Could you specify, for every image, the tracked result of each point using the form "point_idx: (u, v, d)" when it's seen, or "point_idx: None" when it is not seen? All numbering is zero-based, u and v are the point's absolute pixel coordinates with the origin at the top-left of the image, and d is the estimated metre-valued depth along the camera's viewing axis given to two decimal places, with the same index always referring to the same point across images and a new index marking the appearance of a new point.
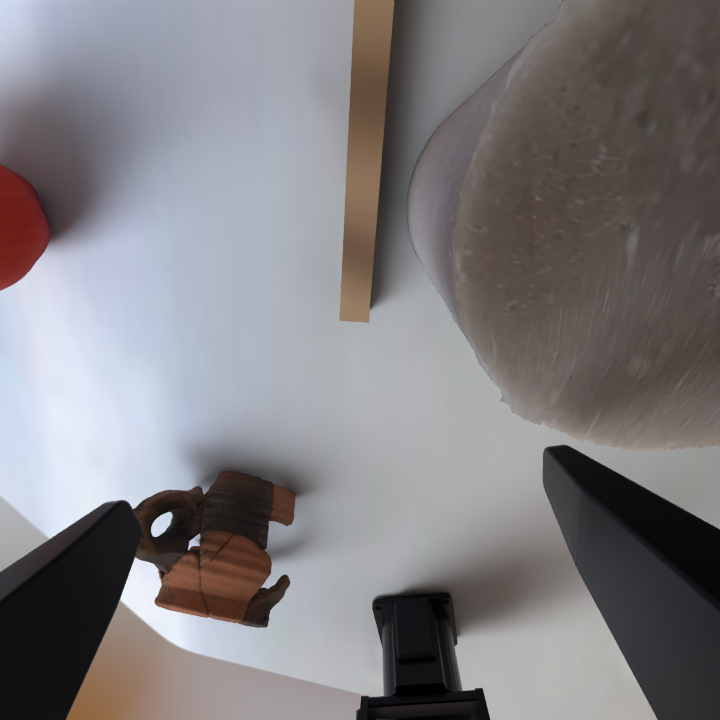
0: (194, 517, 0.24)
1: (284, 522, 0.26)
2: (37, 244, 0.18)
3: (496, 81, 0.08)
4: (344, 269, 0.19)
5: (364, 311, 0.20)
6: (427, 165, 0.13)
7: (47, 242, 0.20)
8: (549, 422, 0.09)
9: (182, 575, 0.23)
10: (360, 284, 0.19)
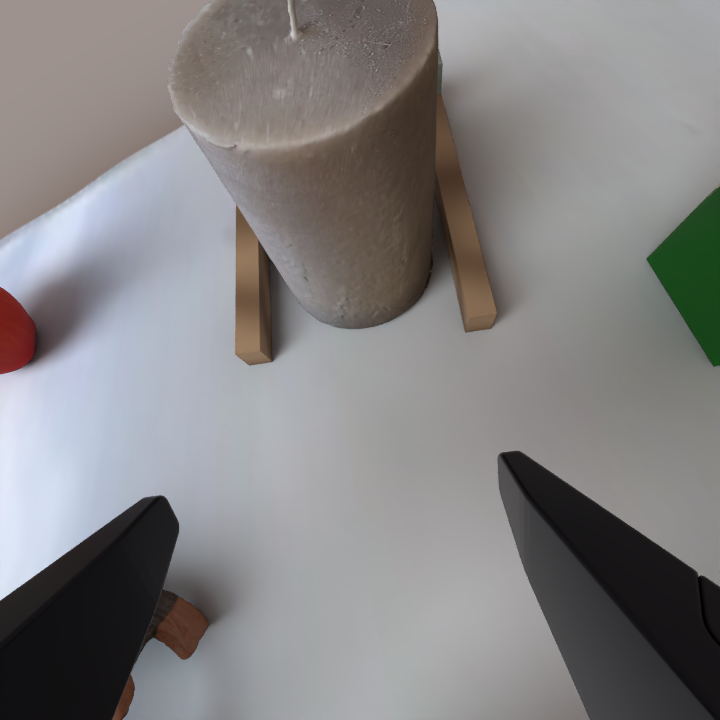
0: None
1: (178, 648, 0.18)
2: (13, 336, 0.24)
3: None
4: (237, 314, 0.23)
5: (255, 342, 0.23)
6: None
7: (27, 355, 0.26)
8: (239, 141, 0.12)
9: None
10: (250, 322, 0.23)
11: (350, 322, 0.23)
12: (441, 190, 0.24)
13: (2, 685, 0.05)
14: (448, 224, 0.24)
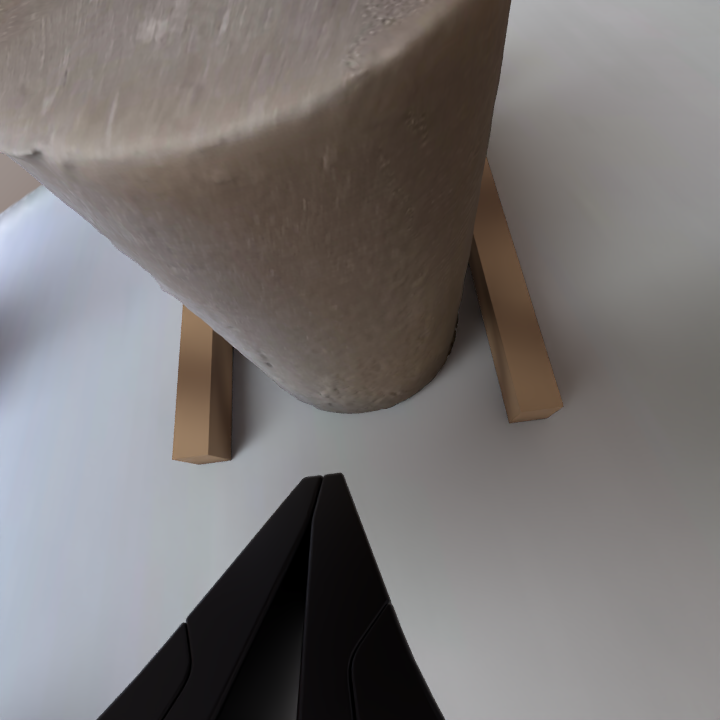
0: None
1: None
2: None
3: None
4: (179, 395, 0.16)
5: (202, 440, 0.15)
6: None
7: None
8: (44, 141, 0.05)
9: None
10: (197, 408, 0.16)
11: (341, 408, 0.16)
12: None
13: (263, 665, 0.05)
14: (482, 266, 0.16)
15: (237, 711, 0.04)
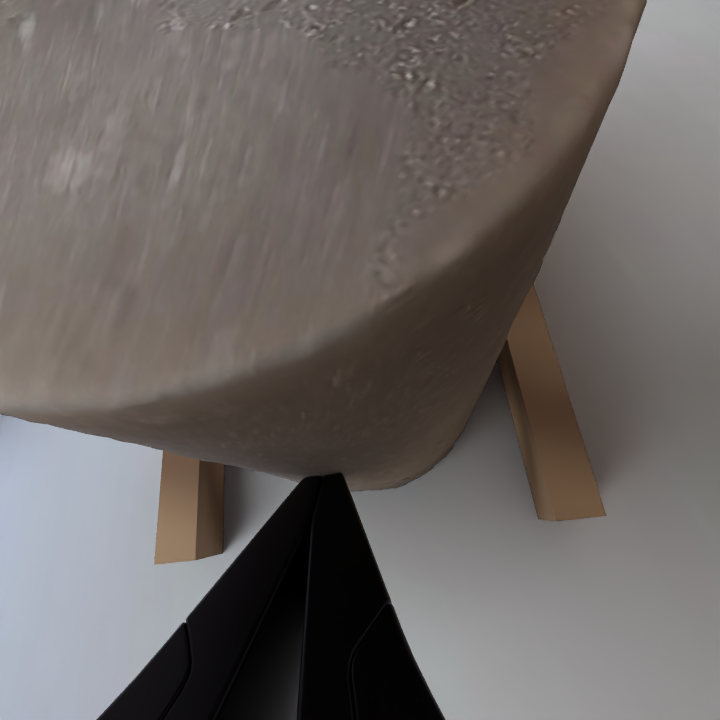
0: None
1: None
2: None
3: None
4: (163, 485, 0.14)
5: (189, 542, 0.14)
6: None
7: None
8: None
9: None
10: (183, 501, 0.14)
11: None
12: None
13: (263, 664, 0.05)
14: (507, 337, 0.14)
15: (237, 711, 0.04)
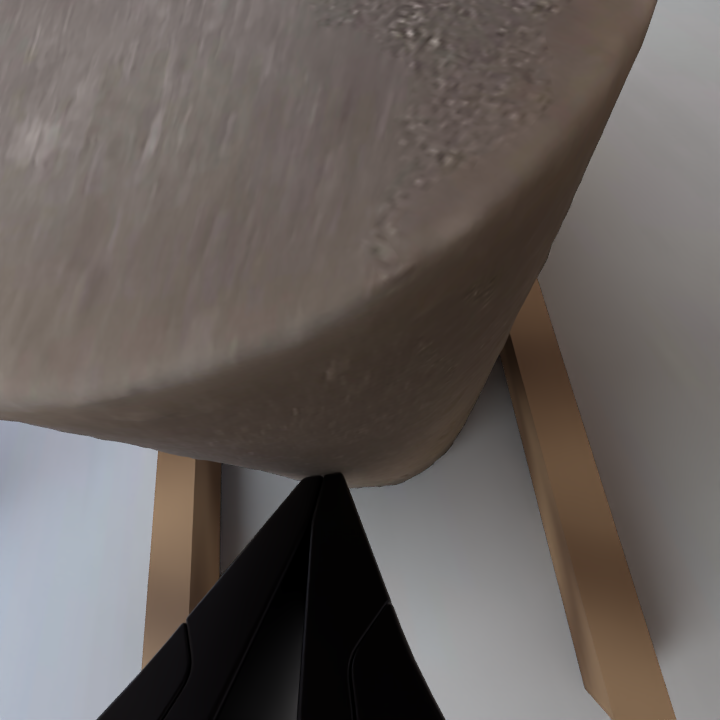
0: None
1: None
2: None
3: None
4: (146, 644, 0.12)
5: None
6: None
7: None
8: None
9: None
10: None
11: None
12: (528, 393, 0.13)
13: (263, 665, 0.05)
14: (547, 471, 0.12)
15: (237, 711, 0.04)
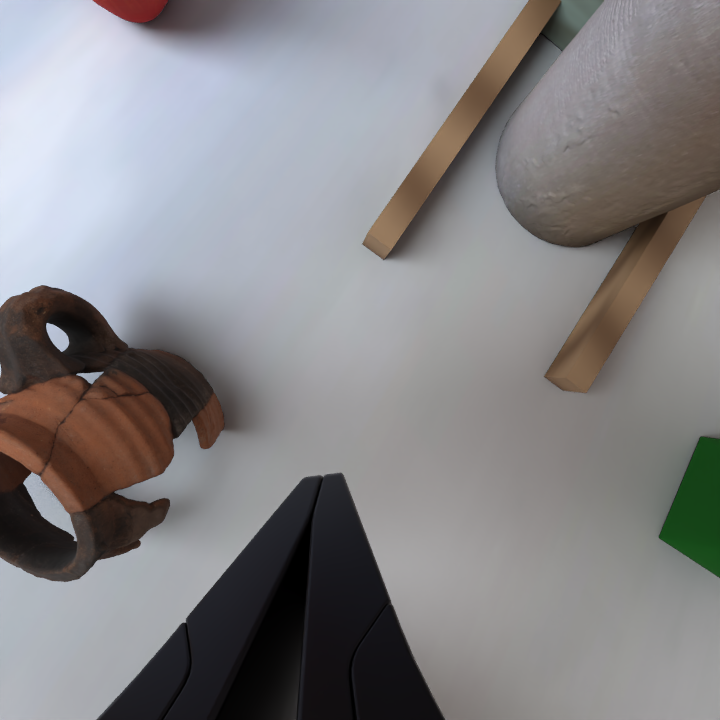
0: (105, 354, 0.17)
1: (203, 438, 0.19)
2: None
3: None
4: (397, 193, 0.20)
5: (393, 238, 0.20)
6: None
7: (149, 16, 0.20)
8: None
9: (42, 400, 0.14)
10: (403, 213, 0.20)
11: (527, 214, 0.22)
12: (646, 249, 0.22)
13: (263, 665, 0.05)
14: (622, 285, 0.22)
15: (237, 711, 0.04)
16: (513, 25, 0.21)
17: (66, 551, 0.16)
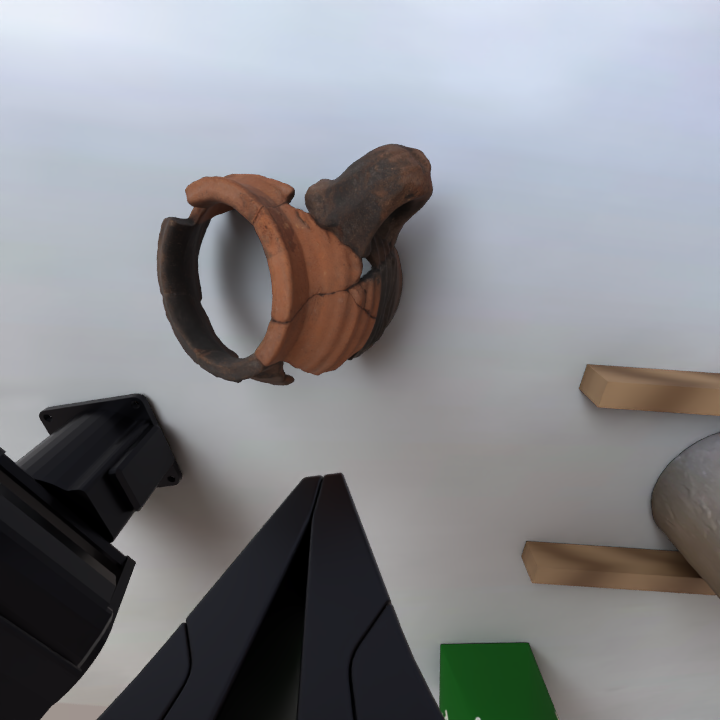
0: (383, 247, 0.15)
1: None
2: None
3: None
4: (659, 387, 0.19)
5: (610, 403, 0.20)
6: None
7: None
8: None
9: (327, 258, 0.13)
10: (639, 400, 0.20)
11: (674, 484, 0.23)
12: (676, 577, 0.25)
13: (263, 665, 0.05)
14: (635, 573, 0.25)
15: (237, 711, 0.04)
16: None
17: (199, 323, 0.17)
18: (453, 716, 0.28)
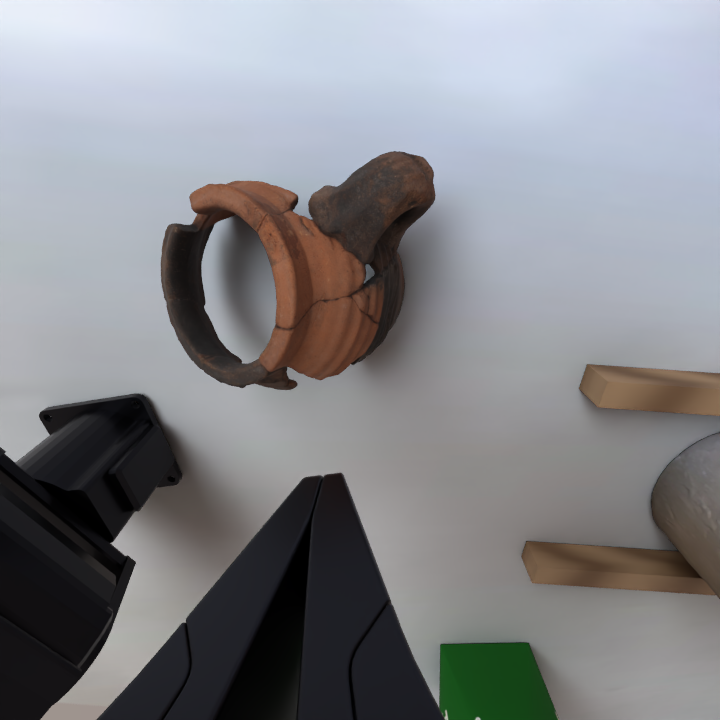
0: (386, 252, 0.16)
1: None
2: None
3: None
4: (659, 387, 0.19)
5: (610, 403, 0.20)
6: None
7: None
8: None
9: (330, 264, 0.13)
10: (639, 400, 0.20)
11: (674, 484, 0.23)
12: (676, 577, 0.25)
13: (263, 665, 0.05)
14: (635, 573, 0.25)
15: (237, 711, 0.04)
16: None
17: (203, 328, 0.17)
18: (453, 716, 0.28)
